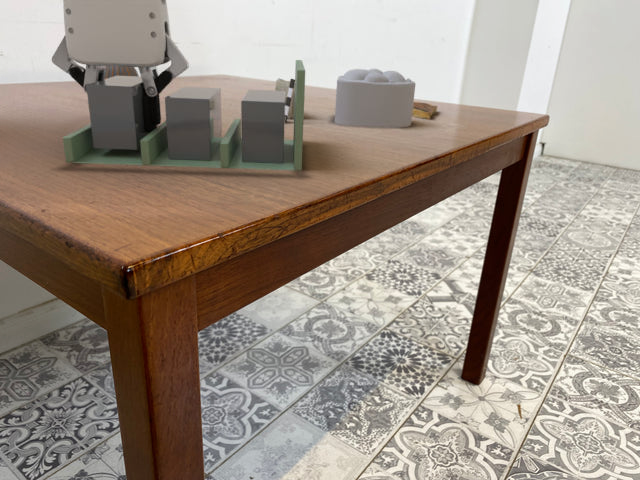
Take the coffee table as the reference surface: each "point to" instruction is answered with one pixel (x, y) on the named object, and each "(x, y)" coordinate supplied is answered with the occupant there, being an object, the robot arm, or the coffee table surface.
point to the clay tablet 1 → (193, 123)
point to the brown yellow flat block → (423, 110)
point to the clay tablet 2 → (263, 126)
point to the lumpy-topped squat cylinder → (374, 99)
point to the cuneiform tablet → (287, 96)
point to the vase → (120, 71)
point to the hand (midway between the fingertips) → (127, 128)
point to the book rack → (226, 156)
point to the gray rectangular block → (117, 112)
